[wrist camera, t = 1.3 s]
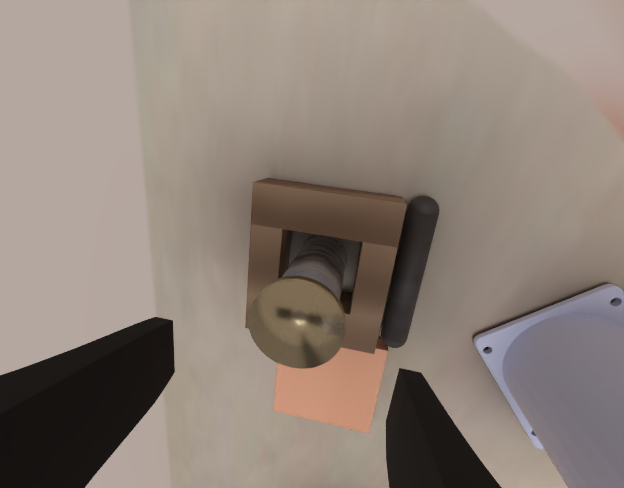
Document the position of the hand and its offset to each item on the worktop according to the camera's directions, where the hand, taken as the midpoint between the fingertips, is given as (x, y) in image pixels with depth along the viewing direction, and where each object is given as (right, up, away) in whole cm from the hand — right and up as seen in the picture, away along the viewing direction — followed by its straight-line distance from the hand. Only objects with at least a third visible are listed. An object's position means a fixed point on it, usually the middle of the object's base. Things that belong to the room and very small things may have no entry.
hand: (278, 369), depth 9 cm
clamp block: (+2, +3, +10) cm, 10 cm away
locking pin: (+2, +3, +10) cm, 10 cm away
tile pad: (+2, -5, +12) cm, 14 cm away
